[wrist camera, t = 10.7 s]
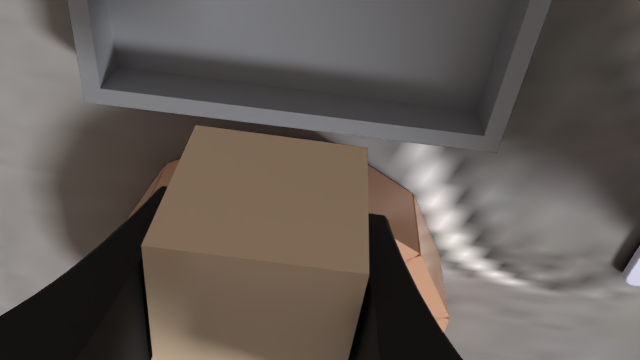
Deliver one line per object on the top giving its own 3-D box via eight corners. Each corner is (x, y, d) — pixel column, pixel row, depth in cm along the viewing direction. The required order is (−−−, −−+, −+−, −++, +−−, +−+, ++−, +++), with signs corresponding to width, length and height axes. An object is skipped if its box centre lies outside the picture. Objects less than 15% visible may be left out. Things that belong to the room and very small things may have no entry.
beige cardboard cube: (367, 147, 13) (369, 274, 10) (342, 267, 15) (337, 400, 12) (195, 124, 13) (141, 245, 10) (197, 249, 15) (154, 378, 12)
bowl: (470, 163, 22) (486, 222, 19) (401, 371, 30) (405, 433, 28) (114, 119, 22) (77, 172, 19) (144, 341, 30) (122, 400, 27)
